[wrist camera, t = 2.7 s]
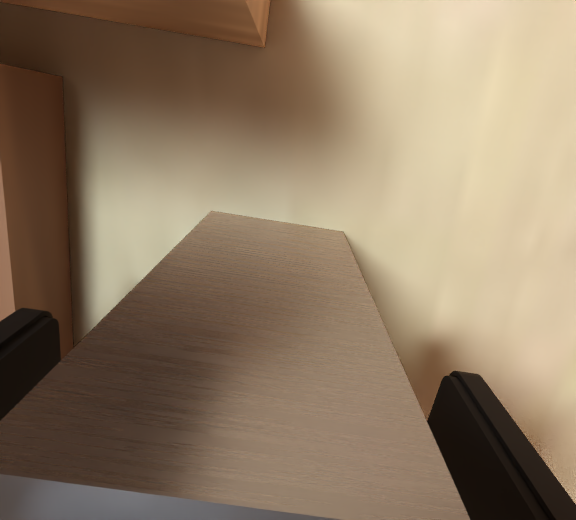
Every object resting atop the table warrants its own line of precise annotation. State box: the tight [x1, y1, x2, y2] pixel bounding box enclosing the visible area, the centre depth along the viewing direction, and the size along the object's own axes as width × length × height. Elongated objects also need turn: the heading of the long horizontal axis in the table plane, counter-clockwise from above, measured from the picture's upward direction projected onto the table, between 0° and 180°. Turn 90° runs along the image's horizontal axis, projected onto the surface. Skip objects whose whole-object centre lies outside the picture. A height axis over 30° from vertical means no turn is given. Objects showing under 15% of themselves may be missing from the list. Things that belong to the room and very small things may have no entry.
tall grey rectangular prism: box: [0, 211, 470, 520], centre depth 8 cm, size 4×7×9 cm, turn 171°
